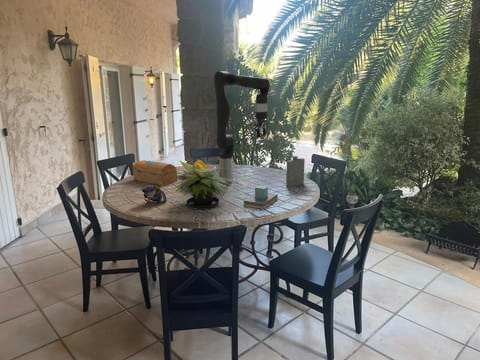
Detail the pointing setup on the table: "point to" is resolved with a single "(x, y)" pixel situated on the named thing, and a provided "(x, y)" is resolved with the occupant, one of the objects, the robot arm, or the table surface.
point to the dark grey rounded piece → (153, 193)
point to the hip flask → (295, 172)
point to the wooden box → (154, 172)
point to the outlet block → (260, 201)
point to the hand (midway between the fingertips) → (261, 136)
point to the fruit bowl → (198, 167)
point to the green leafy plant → (191, 173)
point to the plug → (261, 192)
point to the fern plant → (202, 189)
